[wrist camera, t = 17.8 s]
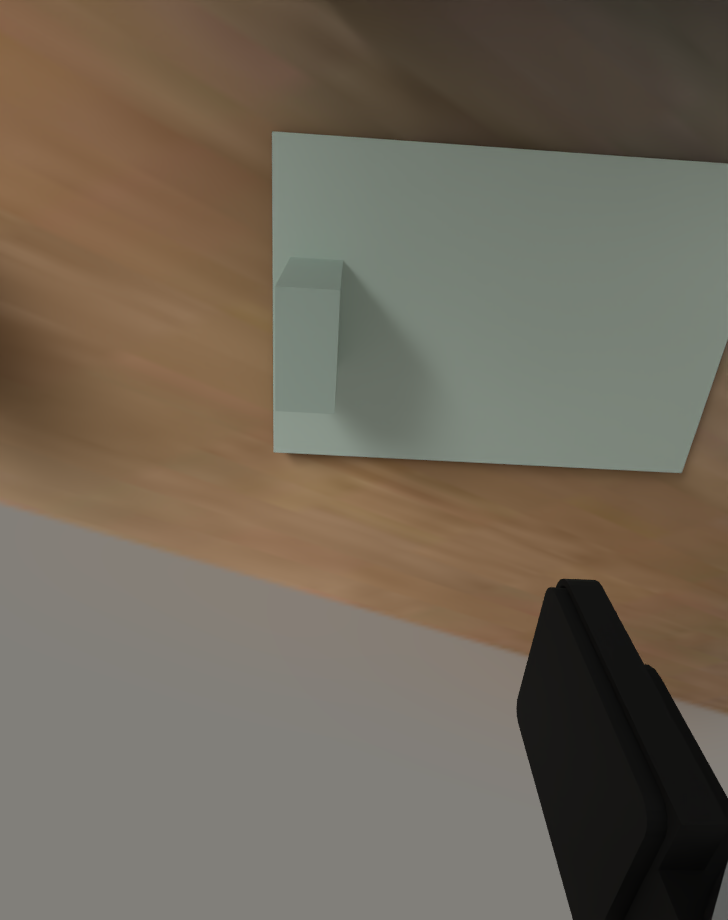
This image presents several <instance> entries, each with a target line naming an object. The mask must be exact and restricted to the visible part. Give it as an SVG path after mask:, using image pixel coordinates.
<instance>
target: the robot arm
mask: <svg viewBox="0 0 728 920" xmlns="http://www.w3.org/2000/svg"><path fill="white" fill-rule="evenodd" d="M517 718H518V724H519V727H520V731H521V735H522V738H523V741H524V745H525V749H526V753H527V756H528V760H529V763H530V767H531V771H532V774H533V778H534V781H535V785H536V789H537V792H538V796H539V799H540V803H541V806H542V810H543V814H544V817H545V821H546V824H547V828H548V831H549V835H550V839H551V842H552V846H553V850H554V853H555V857H556V860H557V864H558V868H559V871H560V875H561V878H562V882H563V886H564V889H565V893H566V896H567V900H568V903H569V907H570V911H571V914H572V918H573V920H728V798H727V796H726V794H725V792H724V791H723V789H722V787H721V785H720V784H719V782H718V780H717V778H716V776H715V774H714V773H713V771H712V769H711V767H710V765H709V764H708V762H707V760H706V758H705V756H704V755H703V753H702V751H701V749H700V747H699V746H698V744H697V742H696V740H695V739H694V737H693V735H692V733H691V731H690V729H689V728H688V726H687V724H686V722H685V721H684V719H683V717H682V715H681V713H680V711H679V710H678V708H677V706H676V704H675V702H674V701H673V699H672V697H671V695H670V693H669V691H668V690H667V688H666V686H665V684H664V682H663V681H662V679H661V677H660V676H659V675H658V673H657V672H656V670H655V669H654V668H652V667H651V666H649V665H645V664H644V663H643V662H642V660H641V658H640V656H639V654H638V652H637V650H636V649H635V647H634V645H633V643H632V641H631V639H630V637H629V636H628V634H627V632H626V630H625V628H624V626H623V624H622V623H621V621H620V619H619V617H618V615H617V613H616V611H615V610H614V608H613V606H612V604H611V602H610V600H609V598H608V597H607V595H606V593H605V591H604V589H603V587H602V586H601V584H600V583H599V582H598V581H596V580H581V579H561V580H560V581H559V582H558V584H557V586H556V588H555V587H550V588H548V589H547V591H546V593H545V597H544V601H543V604H542V608H541V612H540V616H539V619H538V623H537V627H536V631H535V635H534V638H533V642H532V646H531V650H530V653H529V657H528V661H527V665H526V669H525V672H524V676H523V680H522V684H521V687H520V691H519V695H518V699H517Z"/></svg>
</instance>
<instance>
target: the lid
mask: <svg viewBox="0 0 728 920" xmlns="http://www.w3.org/2000/svg"><path fill="white" fill-rule="evenodd" d="M272 230H273V424H274V452H279V453H299V454H319V455H338V456H358V457H377V458H397V459H417V460H436V461H456V462H475V463H495V464H515V465H534V466H554V467H573V468H593V469H613V470H632V471H652V472H671V473H682V471H683V468H684V465H685V462H686V459H687V456H688V453H689V450H690V447H691V444H692V442H693V439H694V436H695V433H696V430H697V427H698V424H699V421H700V418H701V415H702V412H703V409H704V407H705V404H706V401H707V398H708V395H709V392H710V389H711V386H712V383H713V380H714V377H715V375H716V372H717V369H718V366H719V363H720V360H721V357H722V354H723V351H724V348H725V345H726V342H727V340H728V163H714V162H700V161H685V160H671V159H657V158H643V157H629V156H615V155H601V154H586V153H572V152H558V151H544V150H530V149H516V148H502V147H488V146H473V145H459V144H445V143H431V142H417V141H403V140H389V139H374V138H360V137H346V136H332V135H318V134H304V133H290V132H275V131H272Z"/></svg>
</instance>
